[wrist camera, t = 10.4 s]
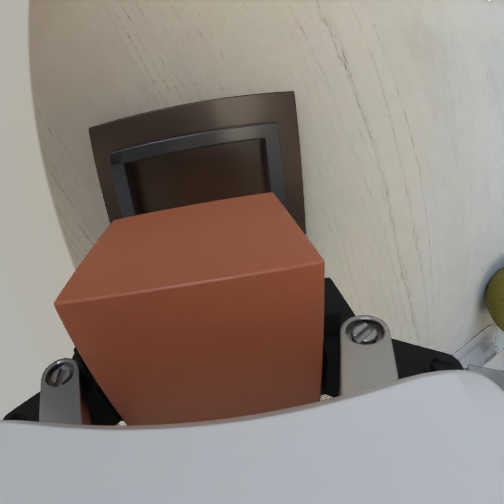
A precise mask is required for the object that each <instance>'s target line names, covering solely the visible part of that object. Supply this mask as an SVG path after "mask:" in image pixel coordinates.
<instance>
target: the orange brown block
mask: <svg viewBox="0 0 504 504" xmlns="http://www.w3.org/2000/svg"><path fill="white" fill-rule="evenodd" d="M54 306H55V308H56V310H57V312H58V314H59V316H60V318H61V320H62V322H63V324H64V326H65V328H66V330H67V332H68V334H69V336H70V338H71V339H72V341H73V343H74V345H75V347H76V348H77V350H78V352H79V354H80V355H81V357H82V359H83V360H84V362H85V364H86V365H87V367H88V369H89V370H90V372H91V374H92V375H93V377H94V378H95V380H96V382H97V383H98V385H99V386H100V388H101V389H102V391H103V392H104V394H105V395H106V397H107V398H108V400H109V401H110V402H111V404H112V405H113V407H114V408H115V410H116V411H117V412H118V414H119V415H120V416H121V418H122V419H123V421H124V422H125V423H126V424H127V426H132V425H161V424H177V423H190V422H200V421H210V420H218V419H226V418H234V417H241V416H247V415H254V414H260V413H265V412H271V411H276V410H282V409H287V408H291V407H296V406H301V405H305V404H310V403H314V402H318V401H320V397H321V381H322V362H323V338H324V260H323V258H322V257H321V256H320V254H319V253H318V252H317V250H316V249H315V247H314V246H313V245H312V243H311V242H310V241H309V239H308V238H307V237H306V235H305V234H304V233H303V231H302V230H301V229H300V227H299V226H298V225H297V223H296V222H295V221H294V219H293V218H292V217H291V215H290V214H289V213H288V211H287V210H286V209H285V207H284V206H283V205H282V203H281V202H280V201H279V199H278V198H277V197H276V196H275V194H274V193H273V192H269V193H262V194H256V195H249V196H242V197H236V198H230V199H224V200H217V201H211V202H206V203H200V204H194V205H188V206H183V207H177V208H172V209H167V210H161V211H156V212H151V213H146V214H141V215H136V216H131V217H127V218H122V219H117V220H114V221H113V222H112V223H111V224H110V225H109V227H108V228H107V229H106V230H105V232H104V233H103V234H102V236H101V237H100V238H99V239H98V241H97V242H96V243H95V245H94V246H93V247H92V249H91V250H90V251H89V253H88V254H87V255H86V257H85V258H84V260H83V261H82V262H81V264H80V265H79V267H78V268H77V269H76V271H75V272H74V274H73V275H72V277H71V278H70V280H69V281H68V282H67V284H66V285H65V287H64V288H63V290H62V291H61V293H60V294H59V296H58V297H57V299H56V301H55V302H54Z"/></svg>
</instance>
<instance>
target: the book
mask: <svg viewBox="0 0 504 504" xmlns="http://www.w3.org/2000/svg"><path fill="white" fill-rule="evenodd" d="M495 342H496V327H495V325H492V326H488V327H487V328H485V329H484V330H483V331H481V332H480V333H479V334H478V335H477V336H475V337H474V338H473V339H472V340H471V341H469V342H468V343H467V344H466V345H465V346H463V347H462V348H461V349H460V350H458V351H457V352H456V353H455V354H453V355H452V356H454V357H455V358H456V359H458V360H459V362H460V363H461V364H462V366H463V367H465V368H467V366H468V364H470V365H475V366H480V367H486V368H491V369H496V370H501V369H502V363H503V356H504V348H503V349H502V350H500V351H499V348H498V347H497V346H496V345H495ZM495 347H496V348H497V350H496V351H495ZM498 351H499V352H498Z"/></svg>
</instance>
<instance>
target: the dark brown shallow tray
mask: <svg viewBox="0 0 504 504" xmlns="http://www.w3.org/2000/svg"><path fill="white" fill-rule="evenodd" d="M89 134H90V139H91V145H92V150H93V155H94V159H95V164H96V168H97V173H98V177H99V181H100V186H101V190H102V194H103V198H104V201H105V205H106V209H107V213H108V216H109V220H110V224H111V223H112V222H113V221H114V220H117V219H122V218H127V217H131V216H136V215H141V214H146V213H151V212H156V211H161V210H167V209H172V208H177V207H183V206H188V205H194V204H200V203H206V202H211V201H217V200H224V199H230V198H236V197H242V196H249V195H256V194H262V193H269V192H273V193H274V194H275V196H276V197H277V198H278V199H279V201H280V202H281V203H282V205H283V206H284V207H285V209H286V210H287V211H288V213H289V214H290V215H291V217H292V218H293V219H294V221H295V222H296V223H297V225H298V226H299V227H300V229H301V230H302V231H303V233H304V234H305V235H306V229H305V211H304V196H303V181H302V168H301V156H300V144H299V134H298V123H297V113H296V104H295V95H294V91H288V92H274V93H262V94H252V95H243V96H235V97H227V98H220V99H213V100H207V101H201V102H195V103H189V104H184V105H179V106H173V107H169V108H164V109H159V110H155V111H150V112H146V113H142V114H138V115H134V116H130V117H126V118H122V119H118V120H115V121H111V122H108V123H104V124H101V125H97V126H94V127H91V128H89Z"/></svg>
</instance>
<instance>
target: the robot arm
mask: <svg viewBox="0 0 504 504" xmlns="http://www.w3.org/2000/svg"><path fill="white" fill-rule="evenodd" d="M74 352H75V353H74V355H73V358H72V359H70V358H64V359H60V360H57V361H55V362H53V363H52V364H50V365H49V366H48V367H47V368H46V369H45V371H44V373H43V375H42V379H41V391H40V392H39V393H37V394H36V395H34V396H33V397H31V398H30V399H28V400H27V401H25V402H24V403H23V404H21V405H20V406H18V407H17V408H15V409H14V410H13V411H11V412H10V413H8V414H7V415H6V416H5V417H4V419H3V420H0V504H504V371H502V370H496V369H491V368H486V367H480V366H475V365H470V364H468V366H467V368H465V367H463V366H462V364H461V363H460V362H459V360H458V359H456V358H455V357H454V356H452V355H449V354H447V353H443V352H439V351H435V350H432V349H428V348H424V347H420V346H417V345H413V344H409V343H406V342H402V341H399V340H395V339H392V338H391V335H390V330H389V328H388V326H387V324H386V323H385V322H384V321H382V320H381V319H379V318H377V317H374V316H370V315H359V316H355V314H354V313H353V311H352V310H351V308H350V307H349V305H348V304H347V302H346V301H345V299H344V298H343V296H342V295H341V293H340V292H339V290H338V289H337V287H336V286H335V284H334V283H333V281H332V280H331V279H330V278H324V338H323V362H322V381H321V395H324V394H327V395H329V396H332V397H334V398H330V399H326V400H322V401H318V402H314V403H310V404H305V405H301V406H296V407H291V408H287V409H282V410H276V411H271V412H265V413H260V414H254V415H247V416H241V417H234V418H226V419H218V420H210V421H200V422H190V423H177V424H161V425H132V426H119V424H118V423H119V422H120V421H123V419H122V418H121V416H120V415H119V414H118V412H117V411H116V410H115V408H114V407H113V405H112V404H111V402H110V401H109V400H108V398H107V397H106V395H105V394H104V392H103V391H102V389H101V388H100V386H99V385H98V383H97V382H96V380H95V378H94V377H93V375H92V374H91V372H90V370H89V369H88V367H87V365H86V364H85V362H84V360H83V359H82V357H81V355H80V354H79V352H78V350H77V348H76V347H75V348H74Z"/></svg>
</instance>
